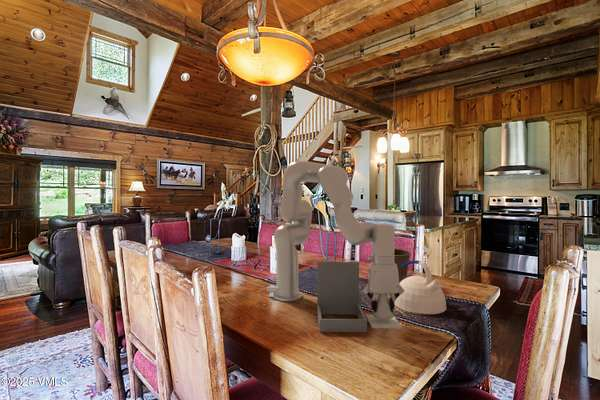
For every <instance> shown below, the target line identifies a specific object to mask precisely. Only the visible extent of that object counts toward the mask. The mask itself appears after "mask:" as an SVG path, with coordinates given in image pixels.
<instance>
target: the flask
mask: <svg viewBox="0 0 600 400" xmlns="http://www.w3.org/2000/svg"><path fill="white" fill-rule="evenodd" d="M377 295H378V296H377V298H376V301H377V311H376V312H374V311H373V310H372V312H371V315H373V316H374V317H375V318H379V319H382V320H385V319H391V318H393V317H395V314H394V312H393V313H392V312H391V307H390V304H389V297H388V294H377Z"/></svg>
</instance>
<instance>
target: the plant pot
mask: <svg viewBox="0 0 600 400" xmlns="http://www.w3.org/2000/svg"><path fill="white" fill-rule="evenodd" d="M411 255H412V252H411V251H409V250H407V249H400V248H394V263H395V264H397V268H398V275H399V283H400V282H401V281H402V280H404V279H405V278H407V277H408V269H409V265H408V266H406V267H405V268H403V267H401V266H402V265H403V264H404V263H406V262H408V261H410V258H411Z"/></svg>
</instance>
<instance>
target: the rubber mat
mask: <svg viewBox="0 0 600 400" xmlns="http://www.w3.org/2000/svg"><path fill="white" fill-rule="evenodd" d="M365 317H366V319H367V323H369V326H370V327H371V329H399V330H400V329H403V328H402V325H401V324H400V323H399V321H398V320H397V318H396V317H395V316H394V317H393V318H391V319H385V320H382V319H379V318H375V317H374V316H373V315H372V314H365Z"/></svg>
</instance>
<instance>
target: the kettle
mask: <svg viewBox="0 0 600 400" xmlns="http://www.w3.org/2000/svg"><path fill="white" fill-rule="evenodd" d="M413 264H414V265H416V264H417V265H420V266H421V267H422V269H424V272H425V275H417V274H416V275H413V274H412V273H411V274H410V273H409V274H407V278H405V279H404V280H402V281H401V282H400V283H399V284H400V285H401V287H402V288H403V289H404V292H403V293H402V294H400V296H399V297H398V298H397V299H396V301H395V307H397V308H398V309H401V310H403V311H406V312H409V313H414V314H418V315H437V314H438V315H439V314H441V313H444V312H445V311H447V303H446V300H447V299H446V296H445V293H444V291H443V289H442V288H441V287H442V282H441V281H440V280H439V279H432V278H433V277H432V275H433V274H432V272H431V269H430V267H429V266H428V265H427V264H426V263H425V262H423V261H421V260H409V261H408V262H406V263H404V264H403V265H402V266H401V267H403V268H405V267H406V266H408V267H409V266H410V265H413Z"/></svg>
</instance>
